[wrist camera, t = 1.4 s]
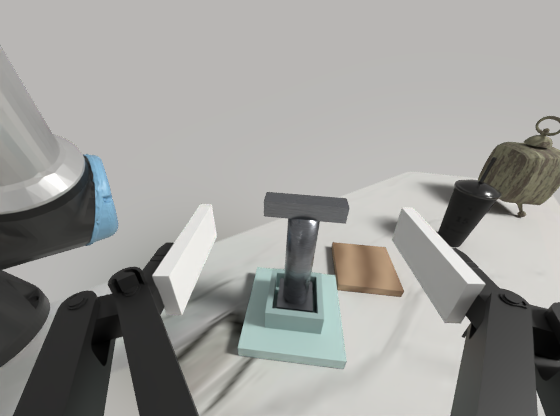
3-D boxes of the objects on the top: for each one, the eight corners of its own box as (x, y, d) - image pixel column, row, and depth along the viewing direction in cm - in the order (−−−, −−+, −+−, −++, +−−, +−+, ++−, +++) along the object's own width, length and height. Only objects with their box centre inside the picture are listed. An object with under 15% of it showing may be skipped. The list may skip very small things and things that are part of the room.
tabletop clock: (532, 221, 62) (607, 124, 48) (496, 218, 62) (560, 121, 49) (496, 195, 74) (548, 112, 60) (466, 192, 74) (511, 110, 61)
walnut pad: (337, 289, 41) (338, 284, 40) (331, 247, 50) (332, 242, 49) (401, 296, 40) (404, 291, 39) (383, 252, 49) (385, 247, 48)
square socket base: (238, 355, 31) (235, 333, 28) (257, 274, 43) (257, 253, 40) (343, 369, 30) (352, 347, 27) (333, 282, 42) (338, 261, 39)
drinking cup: (427, 226, 58) (465, 148, 47) (463, 235, 55) (511, 154, 45) (432, 245, 52) (476, 160, 41) (472, 255, 49) (530, 168, 39)
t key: (262, 317, 34) (261, 208, 23) (267, 289, 38) (268, 186, 27) (324, 325, 33) (351, 216, 23) (322, 295, 37) (344, 192, 27)
